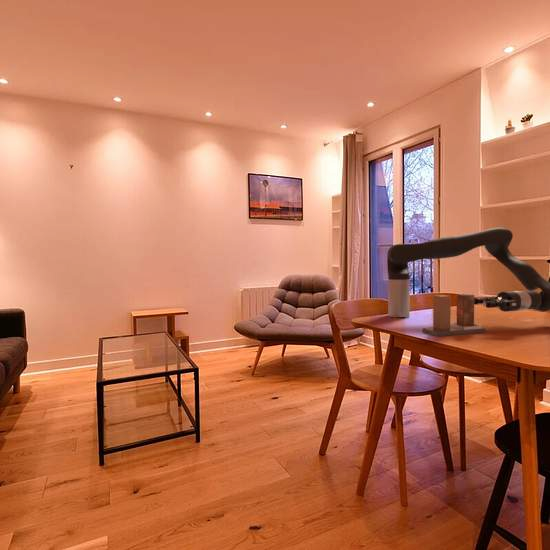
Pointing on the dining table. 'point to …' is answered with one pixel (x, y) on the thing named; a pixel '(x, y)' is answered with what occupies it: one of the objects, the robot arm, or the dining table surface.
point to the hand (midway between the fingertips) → (477, 303)
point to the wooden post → (465, 310)
